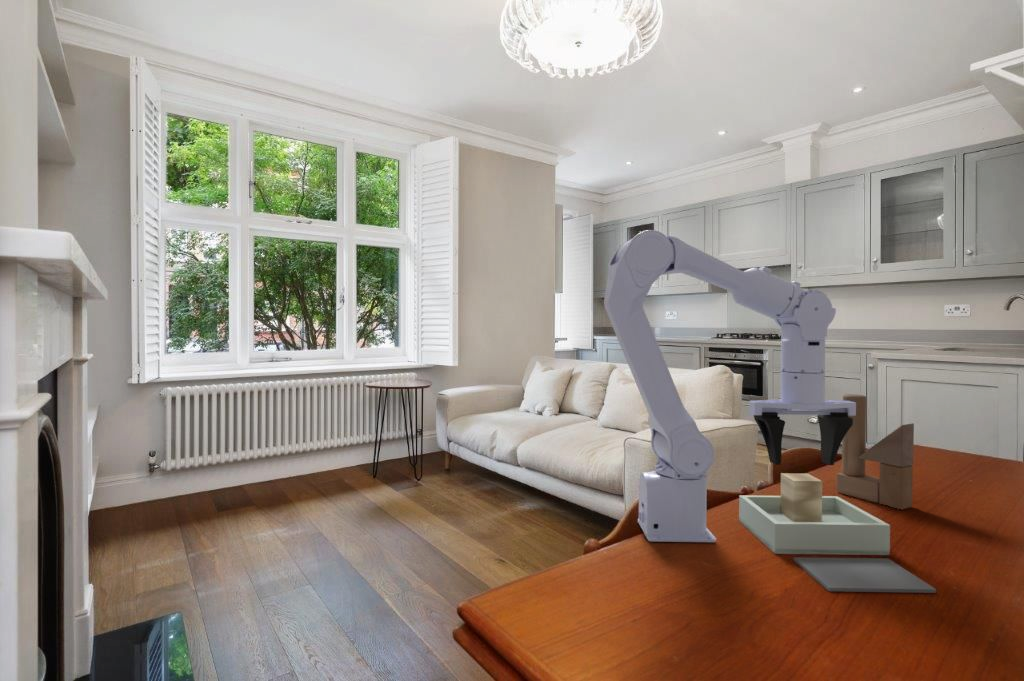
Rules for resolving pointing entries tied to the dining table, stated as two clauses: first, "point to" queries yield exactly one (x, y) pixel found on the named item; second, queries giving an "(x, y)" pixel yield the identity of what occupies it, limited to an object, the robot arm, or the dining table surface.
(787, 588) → the dining table surface
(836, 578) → the mat
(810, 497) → the birch block
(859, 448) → the wooden block structure
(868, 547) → the box
